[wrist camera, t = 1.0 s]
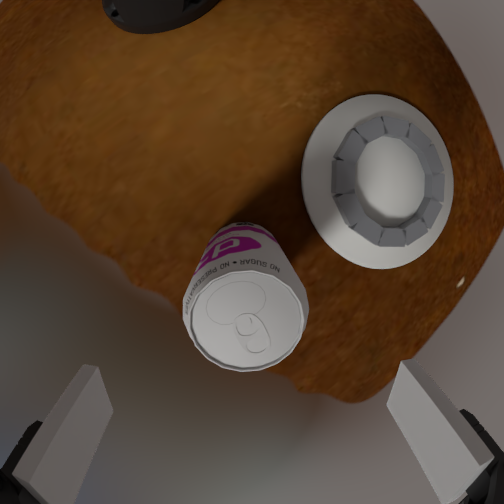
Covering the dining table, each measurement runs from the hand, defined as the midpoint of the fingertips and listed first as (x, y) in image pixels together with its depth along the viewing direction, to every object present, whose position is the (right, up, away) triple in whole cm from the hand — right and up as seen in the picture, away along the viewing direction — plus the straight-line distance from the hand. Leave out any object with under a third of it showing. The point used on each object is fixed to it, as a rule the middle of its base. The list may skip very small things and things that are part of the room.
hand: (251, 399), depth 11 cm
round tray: (+15, +14, +19) cm, 28 cm away
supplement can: (-1, +5, +21) cm, 22 cm away
